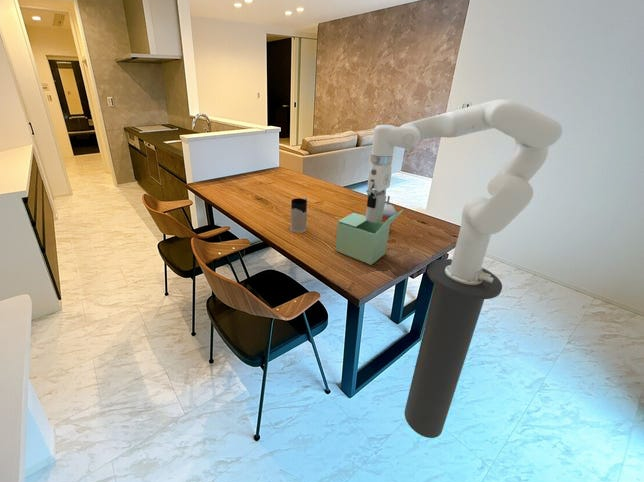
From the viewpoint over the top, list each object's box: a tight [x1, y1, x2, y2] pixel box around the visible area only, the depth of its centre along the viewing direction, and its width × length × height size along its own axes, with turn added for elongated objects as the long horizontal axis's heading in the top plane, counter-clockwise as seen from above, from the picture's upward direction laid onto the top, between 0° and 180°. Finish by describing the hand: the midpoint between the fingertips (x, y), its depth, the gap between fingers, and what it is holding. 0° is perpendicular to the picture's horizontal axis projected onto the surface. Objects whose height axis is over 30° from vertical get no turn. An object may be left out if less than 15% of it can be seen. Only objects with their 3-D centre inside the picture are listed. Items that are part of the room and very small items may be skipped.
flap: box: [376, 209, 404, 233], centre depth 114 cm, size 8×13×1 cm
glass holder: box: [289, 197, 308, 234], centre depth 148 cm, size 9×14×15 cm, turn 152°
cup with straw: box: [381, 195, 397, 232], centre depth 144 cm, size 9×9×18 cm
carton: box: [335, 212, 391, 266], centre depth 125 cm, size 17×13×14 cm
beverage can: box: [364, 191, 387, 223], centre depth 116 cm, size 6×6×12 cm
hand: (375, 204), depth 116 cm, fingers closed on beverage can, 6 cm apart
